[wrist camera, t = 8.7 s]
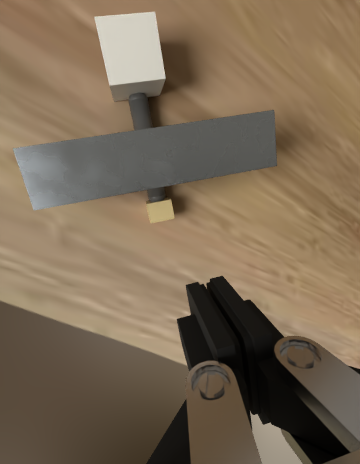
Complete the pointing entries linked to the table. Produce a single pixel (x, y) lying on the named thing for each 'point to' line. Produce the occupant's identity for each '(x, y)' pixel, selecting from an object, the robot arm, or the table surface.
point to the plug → (136, 78)
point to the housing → (146, 158)
